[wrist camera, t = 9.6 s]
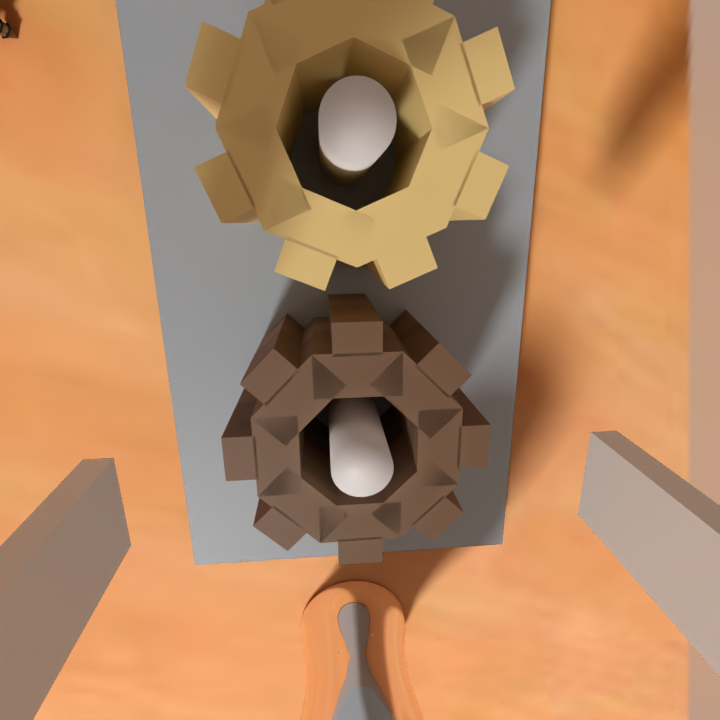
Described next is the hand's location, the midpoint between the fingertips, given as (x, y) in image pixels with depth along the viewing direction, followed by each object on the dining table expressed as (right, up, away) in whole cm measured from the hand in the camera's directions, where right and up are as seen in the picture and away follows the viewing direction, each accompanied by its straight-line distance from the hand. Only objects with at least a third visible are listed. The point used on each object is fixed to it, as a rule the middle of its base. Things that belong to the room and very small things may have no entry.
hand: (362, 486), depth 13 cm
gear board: (-1, +7, +8) cm, 11 cm away
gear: (-1, +12, +6) cm, 13 cm away
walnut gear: (-1, +2, +8) cm, 9 cm away
